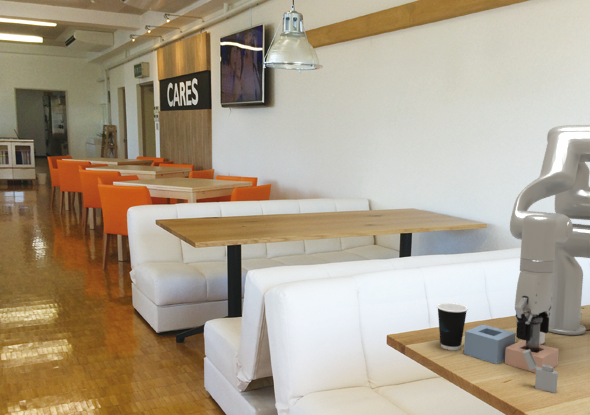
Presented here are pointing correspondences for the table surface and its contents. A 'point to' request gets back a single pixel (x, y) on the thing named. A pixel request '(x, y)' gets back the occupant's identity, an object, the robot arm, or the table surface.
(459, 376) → the table surface
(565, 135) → the robot arm
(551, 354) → the mount block
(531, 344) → the lock pin
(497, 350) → the socket block
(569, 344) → the table surface
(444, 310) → the dixie cup
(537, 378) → the lighter
